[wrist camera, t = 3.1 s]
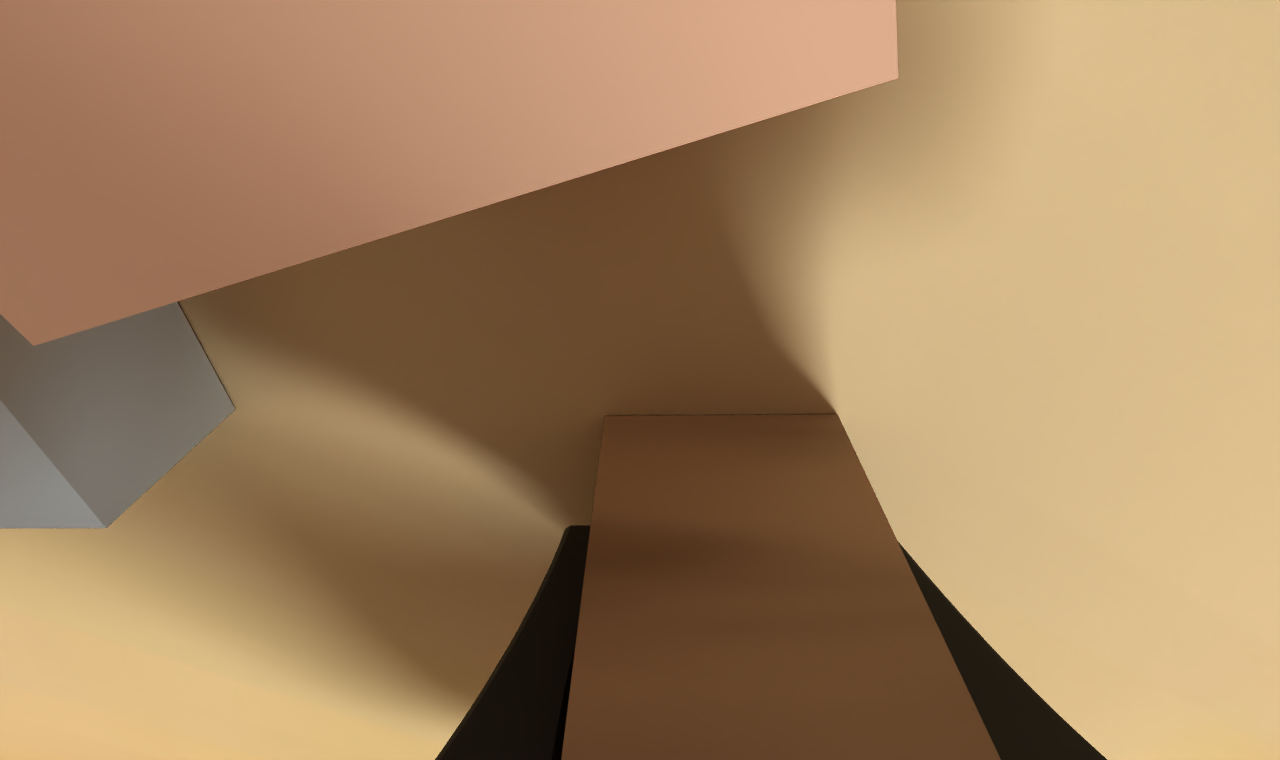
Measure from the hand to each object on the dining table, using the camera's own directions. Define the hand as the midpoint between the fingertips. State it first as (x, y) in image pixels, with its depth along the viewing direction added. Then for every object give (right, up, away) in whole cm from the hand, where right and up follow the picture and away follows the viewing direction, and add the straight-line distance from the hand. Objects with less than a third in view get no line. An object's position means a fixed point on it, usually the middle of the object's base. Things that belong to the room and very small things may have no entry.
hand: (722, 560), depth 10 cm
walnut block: (0, +1, +1) cm, 2 cm away
